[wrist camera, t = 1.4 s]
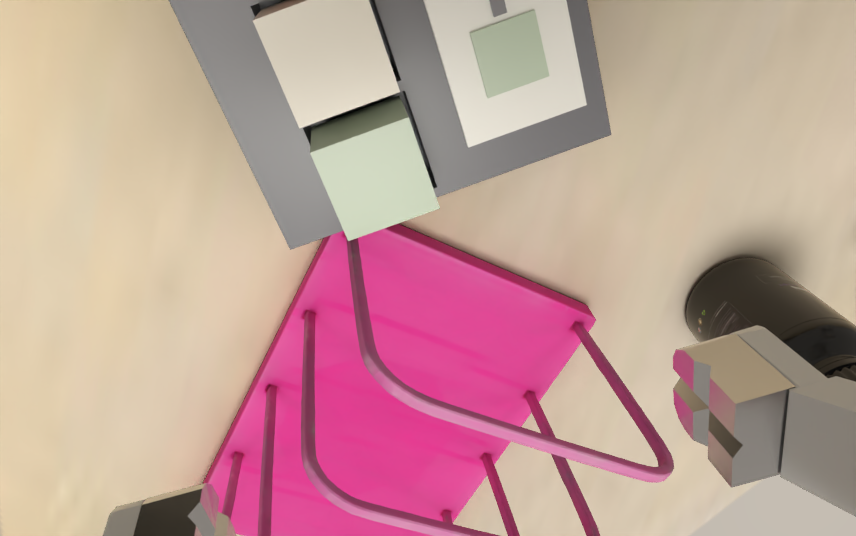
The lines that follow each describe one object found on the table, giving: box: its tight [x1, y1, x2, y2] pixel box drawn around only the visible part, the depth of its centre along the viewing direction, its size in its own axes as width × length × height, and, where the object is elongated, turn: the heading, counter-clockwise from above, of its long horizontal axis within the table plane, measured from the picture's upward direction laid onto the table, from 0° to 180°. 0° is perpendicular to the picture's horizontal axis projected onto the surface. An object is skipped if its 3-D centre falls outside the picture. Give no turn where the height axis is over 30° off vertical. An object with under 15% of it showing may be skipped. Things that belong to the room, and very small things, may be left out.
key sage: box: [310, 96, 440, 241], centre depth 30 cm, size 4×4×4 cm
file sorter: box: [203, 224, 674, 536], centre depth 36 cm, size 17×25×16 cm
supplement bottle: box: [686, 258, 856, 382], centre depth 38 cm, size 7×7×12 cm
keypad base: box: [169, 0, 611, 250], centre depth 29 cm, size 17×17×4 cm
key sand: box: [253, 0, 400, 128], centre depth 27 cm, size 4×4×4 cm
